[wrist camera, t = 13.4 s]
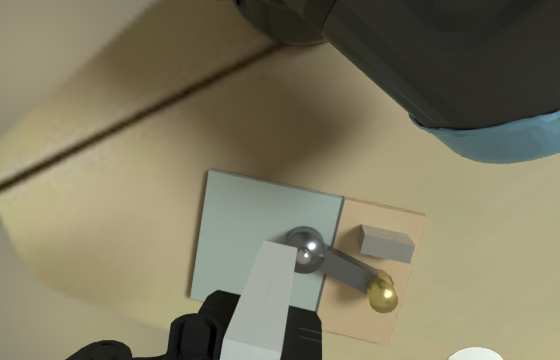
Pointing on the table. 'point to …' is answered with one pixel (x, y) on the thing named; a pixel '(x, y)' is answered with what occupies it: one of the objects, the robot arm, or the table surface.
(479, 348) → the wineglass
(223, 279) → the door board
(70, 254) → the table surface
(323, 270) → the swing bar
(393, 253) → the block
